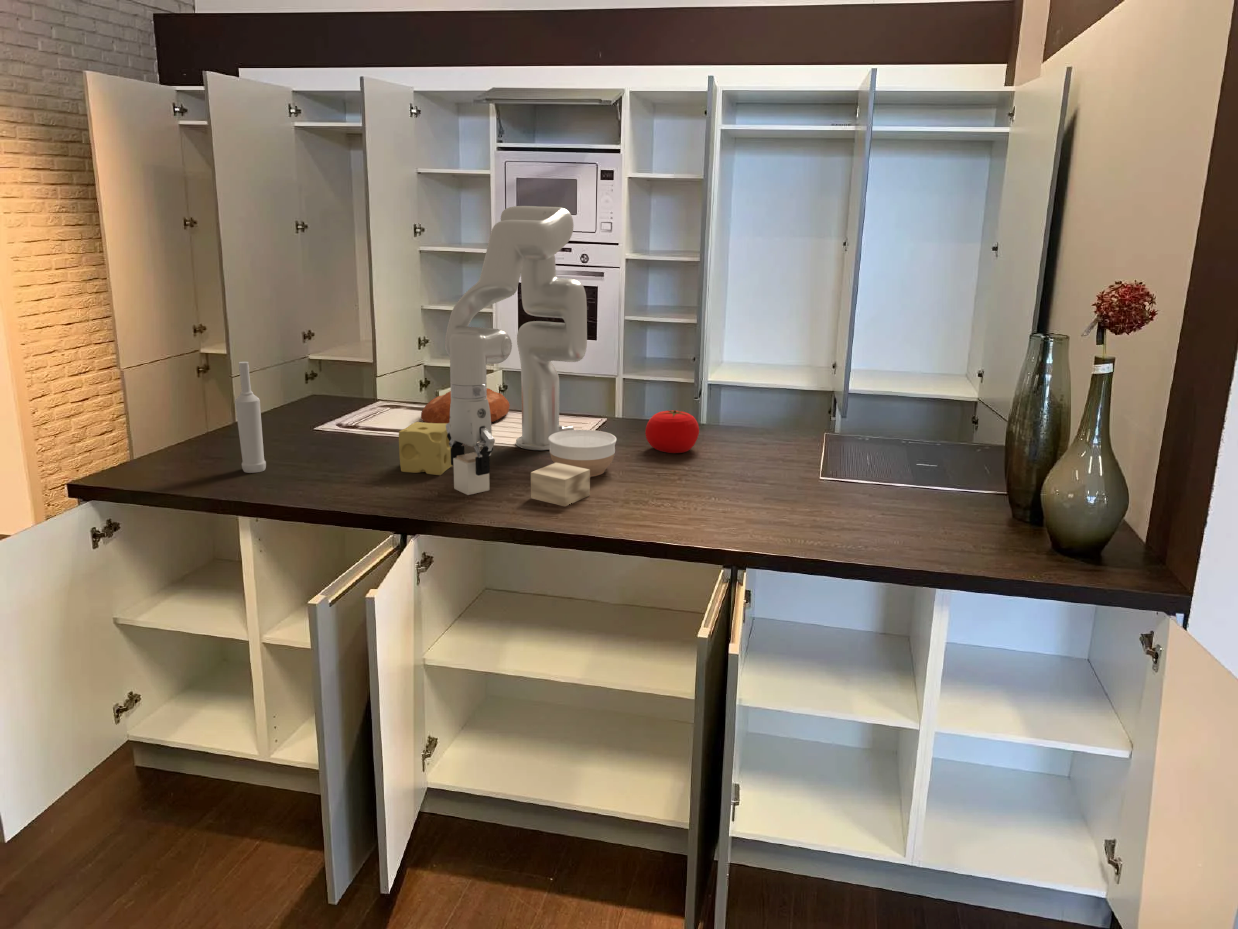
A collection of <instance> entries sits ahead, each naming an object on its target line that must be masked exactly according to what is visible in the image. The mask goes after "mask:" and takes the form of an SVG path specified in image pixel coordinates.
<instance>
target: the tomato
mask: <svg viewBox="0 0 1238 929" xmlns="http://www.w3.org/2000/svg"><path fill="white" fill-rule="evenodd" d="M645 426H646V427H645V433H644V434H645V438H646V441H647V443H648V444H649V445H650V446H651V448H653V449H655V450H657V451H660V452H664V453H668V454H681V453H682V454H683V453H686V452H688V451H689V450H691V449H692V448H693V447H694V445H695V444H696V442H697V440H698V438H699V435H700V428H699V423H698V421H697V419H696V417H694V416H693V415H692V414H691V413H688V412H685V411H683V410H673V409H672V410H669V409H668V410H664V411H663V410H661V411H659V412H656V413H655V414H653V415H652V416H651V417H650V418H649V420H648V421H647V424H646V425H645Z"/></svg>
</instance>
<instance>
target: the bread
mask: <svg viewBox="0 0 1238 929" xmlns="http://www.w3.org/2000/svg"><path fill="white" fill-rule="evenodd" d="M486 399H487V400H488V403H489V408H490V415H491V423H494V422H496V421H498V420H499V419H501V418H503V417H505V416H506V415H507V414H508V413H509V412H510V406H511V405H510V402H509V400H508V399H507V398H506V397H505V396H504V394H502V393H499V392H497V391H494V390H492V389H490V388H488V387H487V398H486ZM450 404H451V390H450V391H448V392H446V393H444V394H441V395H439V396H435V397H434V398H433V399H431V400H430V401H428V402H427V404H426V405H425V406H424V407H423V408H422V411H421V412H420V418H421V420H422V422H423V423H449V422H450Z"/></svg>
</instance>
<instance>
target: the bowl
mask: <svg viewBox="0 0 1238 929" xmlns="http://www.w3.org/2000/svg"><path fill="white" fill-rule="evenodd" d="M548 441H549V443H550V450H549V454H550V459H551V460H552V464H554V463H556V462H557V463H561V464H566V465H571V466H576V467H580V468H585V469H590V478H592V477H597V476H600V475H602V474H604V473H605V471H606V469H607V468H608V467H609V466H610V465H611V464H612V462H613V460H614V458H615V452H616V449H615V448H616V447H615V445H616V442H617V437H616V436H615V435H614V434H612V433H610V432H606V431H601V430H595V429H574V430H567V431H561V432H557V433H554V434H552V435H550V436H549V437H548Z"/></svg>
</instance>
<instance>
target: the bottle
mask: <svg viewBox="0 0 1238 929" xmlns="http://www.w3.org/2000/svg"><path fill="white" fill-rule="evenodd" d="M249 363H250V362H249V361H238V369H239V377H240V387H241V388H240V389H241V391H240V393H239V396H238V397H236V398H235V399H234V405H235V411H236V412H235V413H236V422H237V429H238V435H239V436H238V437H239V444H240V452H241V458H242V462H241V468H242V471H243V472H244V473H249V474H251V473H252V474H255V473H260V472H263V471H265V470H266V467H267V461H266V460H265V456H264V455H265V454H264V443H263V442H264V440H263V427H262V426H263V425H262V414H261V412H262V411H261V400H260V398H259V397H258V396H257V395H255V394H254V392H253V391H252V386H251V378H250V365H249Z"/></svg>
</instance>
